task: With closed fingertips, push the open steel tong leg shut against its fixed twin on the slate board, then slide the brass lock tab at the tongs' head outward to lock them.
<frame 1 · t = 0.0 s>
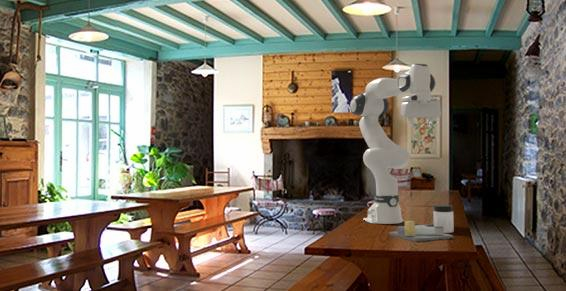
hand: (421, 127, 256), 48 cm above the table, tool pointing down, fingers open, 8 cm apart
slate board: (420, 236, 238), on the table
lock tab: (409, 228, 232), point 4 cm above the table, slide at 0.0 cm
jar: (443, 232, 251), on the table
tongs base: (409, 237, 236), resting on slate board
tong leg: (428, 230, 235), point 3 cm above the table, hinge at 30.0°
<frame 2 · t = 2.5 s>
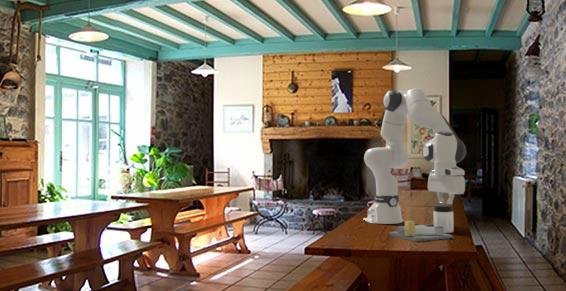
hand: (445, 203, 228), 15 cm above the table, tool pointing down, fingers open, 4 cm apart
nothing on the table moved.
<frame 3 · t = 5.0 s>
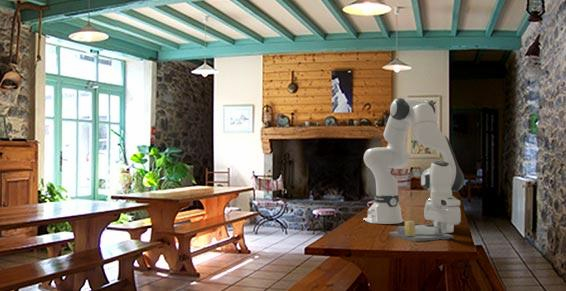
hand: (441, 232, 231), 3 cm above the table, tool pointing down, fingers closed
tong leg: (428, 230, 235), point 3 cm above the table, hinge at 30.0°, touching gripper
everything else where it was.
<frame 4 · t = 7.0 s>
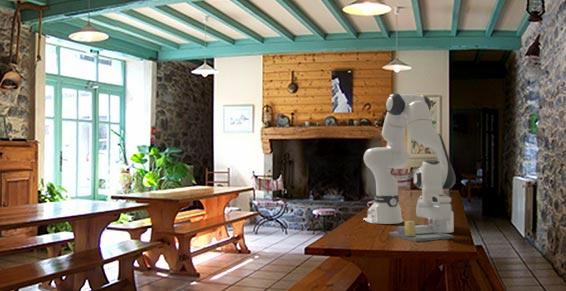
hand: (433, 229, 237), 3 cm above the table, tool pointing down, fingers closed
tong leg: (425, 229, 239), point 3 cm above the table, hinge at 2.4°, touching gripper
everything else where it was.
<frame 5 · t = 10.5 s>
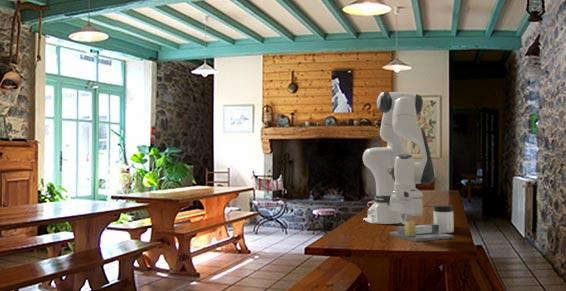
hand: (405, 224, 235), 6 cm above the table, tool pointing down, fingers closed
lock tab: (409, 228, 232), point 4 cm above the table, slide at 0.0 cm, touching gripper
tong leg: (425, 229, 239), point 3 cm above the table, hinge at 2.4°
everything else where it was.
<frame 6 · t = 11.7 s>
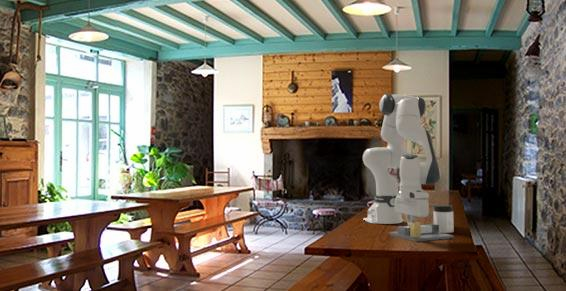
hand: (411, 225, 231), 6 cm above the table, tool pointing down, fingers closed
lock tab: (415, 229, 228), point 4 cm above the table, slide at 4.0 cm, touching gripper
everything else where it was.
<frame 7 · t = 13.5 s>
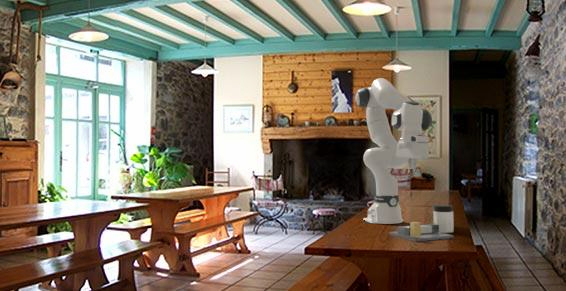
hand: (411, 168, 244), 29 cm above the table, tool pointing down, fingers closed
lock tab: (415, 229, 228), point 5 cm above the table, slide at 4.0 cm
everything else where it was.
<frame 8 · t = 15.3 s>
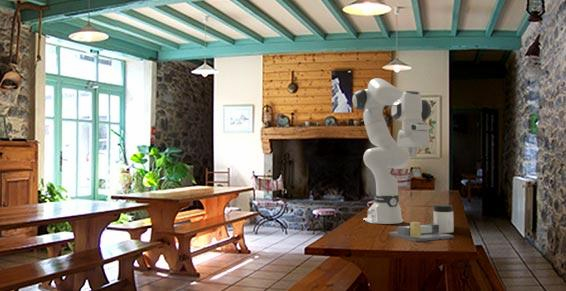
hand: (412, 157, 245), 34 cm above the table, tool pointing down, fingers closed
nothing on the table moved.
at the end: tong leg at +2° (first picture: +30°); lock tab slide at 4.0 cm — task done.
